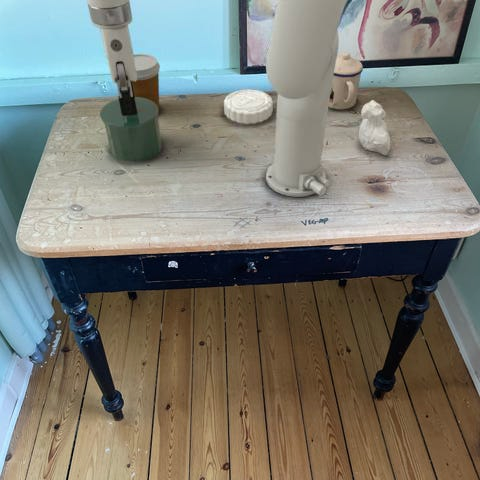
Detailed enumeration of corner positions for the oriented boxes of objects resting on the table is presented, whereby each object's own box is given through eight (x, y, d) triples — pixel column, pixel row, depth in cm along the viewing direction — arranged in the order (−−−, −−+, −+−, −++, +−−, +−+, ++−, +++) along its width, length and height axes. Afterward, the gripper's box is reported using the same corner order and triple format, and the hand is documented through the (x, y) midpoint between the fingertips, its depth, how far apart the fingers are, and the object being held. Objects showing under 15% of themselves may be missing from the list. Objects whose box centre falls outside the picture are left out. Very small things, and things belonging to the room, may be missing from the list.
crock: (171, 151, 111) (166, 116, 105) (126, 169, 107) (119, 133, 100) (145, 130, 117) (139, 95, 111) (102, 146, 113) (93, 111, 106)
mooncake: (255, 96, 127) (255, 82, 124) (281, 116, 121) (282, 102, 118) (215, 109, 123) (214, 95, 120) (240, 130, 117) (240, 116, 114)
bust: (361, 140, 118) (338, 107, 110) (389, 120, 114) (368, 84, 107) (376, 169, 110) (353, 135, 103) (407, 148, 107) (386, 112, 99)
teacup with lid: (316, 94, 127) (321, 47, 118) (349, 91, 128) (357, 43, 119) (330, 118, 120) (337, 69, 111) (365, 114, 121) (375, 65, 112)
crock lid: (169, 118, 105) (165, 87, 100) (118, 138, 101) (111, 106, 95) (140, 96, 111) (135, 66, 106) (91, 113, 107) (83, 82, 102)
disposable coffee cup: (119, 114, 122) (109, 64, 113) (145, 98, 127) (137, 49, 117) (148, 125, 118) (140, 75, 109) (173, 109, 123) (167, 59, 114)
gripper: (134, 28, 85) (150, 125, 100) (127, -6, 96) (142, 86, 110) (91, 32, 85) (112, 130, 99) (88, -3, 95) (108, 89, 109)
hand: (128, 106), depth 104 cm, fingers open, 5 cm apart
